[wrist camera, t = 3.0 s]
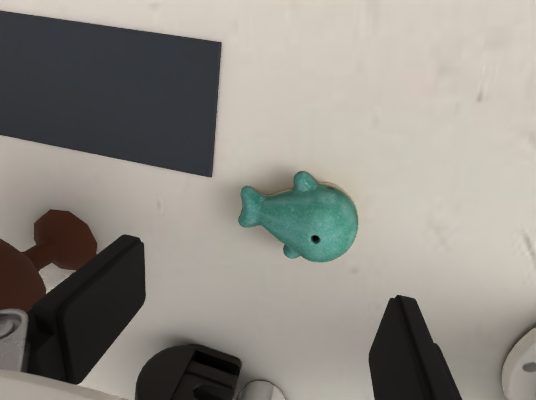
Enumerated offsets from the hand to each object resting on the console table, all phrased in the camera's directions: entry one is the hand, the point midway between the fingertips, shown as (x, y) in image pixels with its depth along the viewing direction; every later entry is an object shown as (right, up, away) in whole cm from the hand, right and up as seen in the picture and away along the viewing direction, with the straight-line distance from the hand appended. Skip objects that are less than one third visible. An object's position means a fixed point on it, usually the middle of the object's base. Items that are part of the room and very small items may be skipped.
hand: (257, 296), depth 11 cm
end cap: (-6, -13, +17) cm, 22 cm away
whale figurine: (+2, +3, +9) cm, 10 cm away
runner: (-12, +11, +9) cm, 19 cm away
